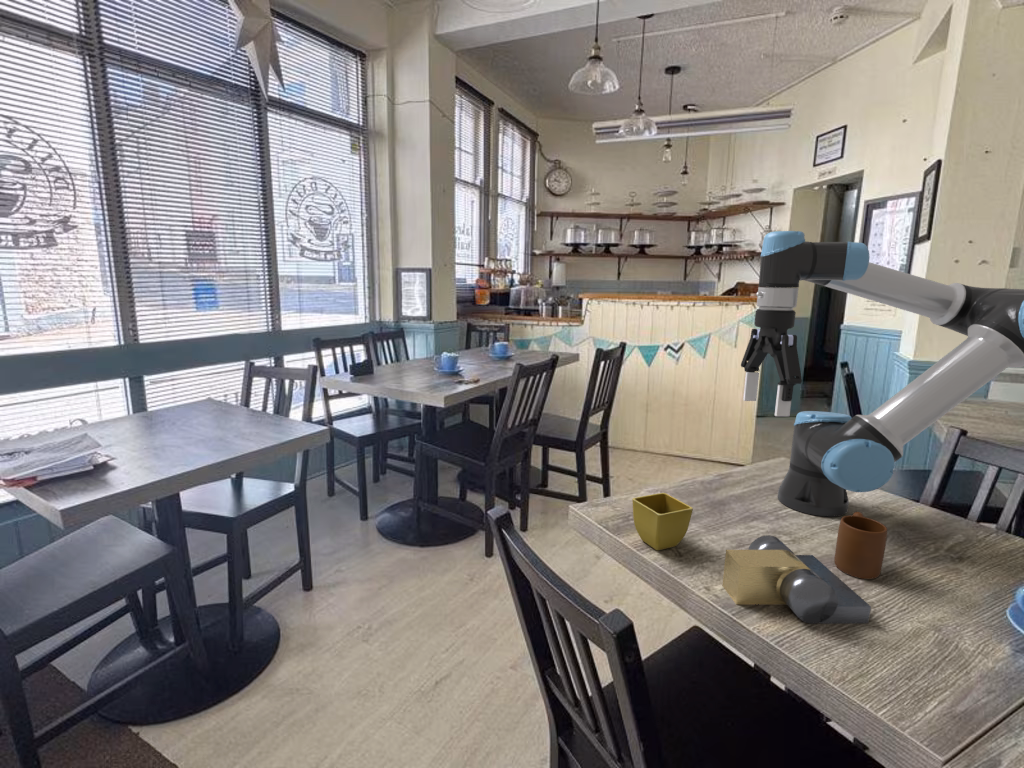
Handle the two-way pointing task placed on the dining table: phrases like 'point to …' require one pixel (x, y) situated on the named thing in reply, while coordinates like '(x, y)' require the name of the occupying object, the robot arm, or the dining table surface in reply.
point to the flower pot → (661, 520)
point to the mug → (860, 546)
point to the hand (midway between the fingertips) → (764, 408)
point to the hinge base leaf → (816, 590)
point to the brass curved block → (758, 575)
